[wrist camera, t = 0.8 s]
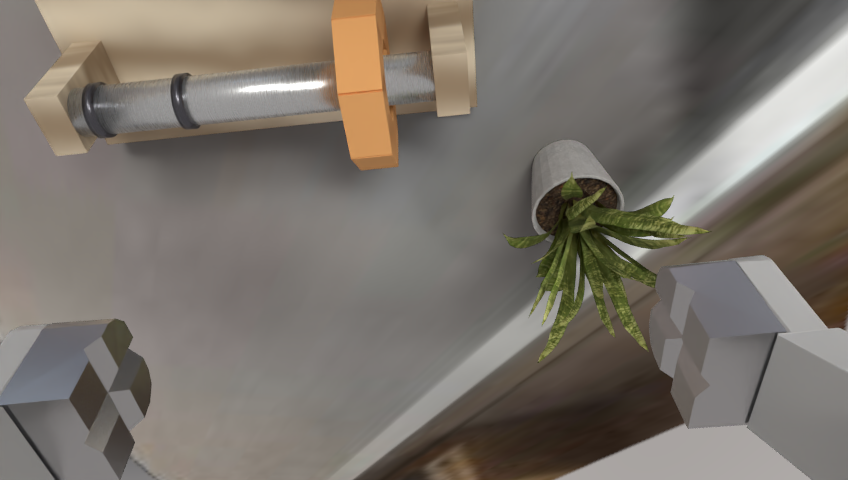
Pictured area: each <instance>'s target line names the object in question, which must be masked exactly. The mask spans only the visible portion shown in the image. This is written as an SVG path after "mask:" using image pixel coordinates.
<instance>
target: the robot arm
mask: <svg viewBox="0 0 848 480" xmlns="http://www.w3.org/2000/svg"><path fill="white" fill-rule="evenodd" d="M655 289H656V291H657V293H658V295H659V297H660V299H661V300H660V301H659V302H658V303H657V304H656V305H655V306H654V307H653V308H652V309H651V315H650V323H649V331H650V342H651V346H652V350H653V353H654V357H655V359H656V361H657V364H658V366H659V368H660V370H662V371H663V372H665V373H666V374H668V375H669V376H671V377H672V378H674V379H673V384H672V389H671V394H672V396H673V398H674V400H675V403H676V405H677V407H678V409H679V411H680V413H681V415H682V417H683V419H684V422H685V424H686V426H687V428H688V429H689V428H704V427H720V426H734V425H748V426H747V428H748V429H749V430H751V431H752V432H753V433H754V434H756V435H757V436H758V437H759V438H760V439H762V440H763V441H764V442H766V443H767V444H768V445H769V446H770V447H772V448H773V449H774V450H775V451H777V452H778V453H779V454H780V455H782V456H783V457H784V458H785V459H787V460H788V461H789V462H790V463H792V464H793V465H794V466H795V467H797V468H798V469H799V470H800V471H802V472H803V473H804V474H805V475H806V476H808V477H809V478H810V479H811V480H848V332H846V331H844V330H842V329H840V328H834V329H828V328H827V327H826V326H825V324H824V323H823V322H822V321H821V319H820V318H819V317H818V316H817V315H816V313H815V312H814V311H813V310H812V308H811V307H810V306H809V305H808V304H807V302H806V301H805V300H804V299H803V297H802V296H801V295H800V294H799V293H798V291H797V290H796V289H795V288H794V286H793V285H792V284H791V283H790V282H789V280H788V279H787V278H786V277H785V275H784V274H783V273H782V272H781V271H780V269H779V268H778V267H777V266H776V264H775V263H774V262H773V261H772V260H771V259H770V258H768V257H766V256H764V255H759V256H751V257H742V258H733V259H729V260H722V261H712V262H702V263H692V264H682V265H673V266H663V267H661V268H660V270H659V272H658V274H657V278H656V284H655ZM132 338H133V336H132V334H131V333H130V331H129V329H128V327H127V325H126V324H125V322H124V321H121V320H118V319H104V320H90V321H76V322H63V323H52V324H43V325H29V326H19V327H18V328H16V329H14V330H12V331H10V332H9V333H8V335H7V336H6V337H5V339H4V340H3V342H2V343H1V345H0V480H120V479H121V477H122V474H123V472H124V469H125V467H126V464H127V461H128V459H129V456H130V454H131V451H132V449H133V446H134V444H135V441H134V439H133V437H132V435H131V433H130V430H131V429H132V428H133V427H135V426H136V425H137V424H138V423H139V422H140V421H141V420H142V419H143V418H144V417H145V415H146V412H147V409H148V406H149V403H150V396H151V379H150V374H149V369H148V367H147V365H146V363H145V361H144V359H143V357H141V356H139V355H138V354H136V353H135V352H133V351H132V350H130V349H128V347H129V345H130V343H131V340H132Z"/></svg>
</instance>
